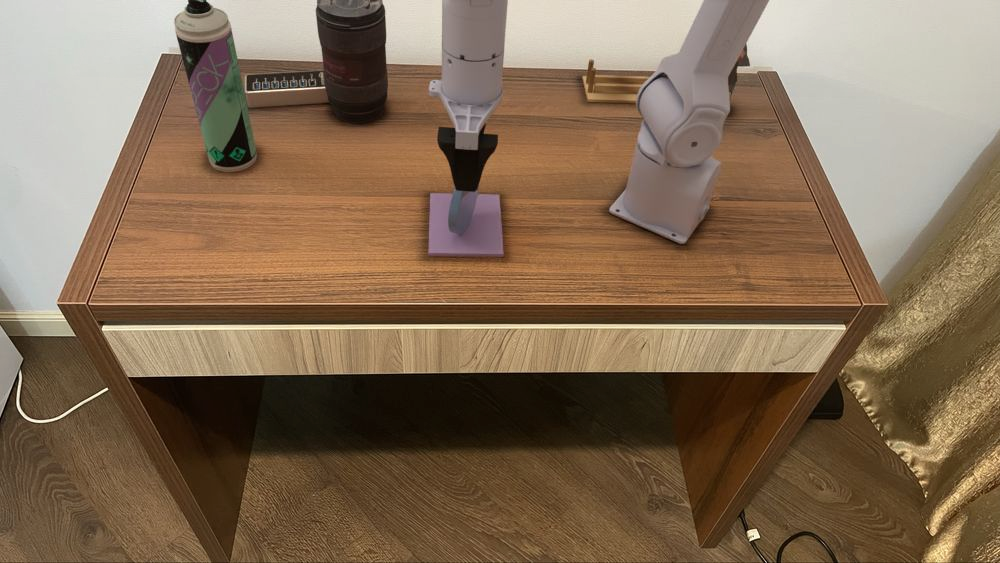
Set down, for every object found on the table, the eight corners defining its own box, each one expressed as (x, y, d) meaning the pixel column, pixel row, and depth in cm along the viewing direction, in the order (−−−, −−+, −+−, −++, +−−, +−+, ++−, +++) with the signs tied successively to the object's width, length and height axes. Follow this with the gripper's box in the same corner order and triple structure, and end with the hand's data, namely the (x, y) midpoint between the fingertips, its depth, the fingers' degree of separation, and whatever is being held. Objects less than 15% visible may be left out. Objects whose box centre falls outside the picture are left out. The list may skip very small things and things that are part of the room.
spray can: (211, 145, 91) (170, -16, 77) (258, 143, 92) (226, -17, 78) (207, 173, 88) (163, 9, 73) (256, 170, 89) (222, 8, 74)
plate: (471, 197, 86) (469, 155, 80) (479, 199, 85) (478, 157, 80) (449, 245, 82) (445, 204, 76) (458, 247, 82) (455, 207, 76)
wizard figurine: (687, 98, 106) (710, 17, 97) (724, 96, 107) (750, 16, 98) (711, 133, 100) (737, 50, 91) (749, 130, 101) (779, 48, 92)
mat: (430, 196, 87) (430, 192, 87) (499, 197, 88) (499, 194, 88) (428, 256, 80) (428, 252, 80) (503, 257, 81) (503, 254, 81)
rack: (657, 81, 108) (664, 56, 106) (666, 104, 104) (672, 78, 101) (582, 78, 108) (586, 53, 105) (587, 102, 103) (591, 76, 100)
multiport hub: (247, 89, 100) (244, 74, 99) (331, 84, 102) (330, 69, 101) (247, 108, 97) (244, 92, 96) (334, 102, 99) (332, 87, 98)
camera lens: (323, 126, 96) (309, 14, 85) (331, 91, 101) (319, -18, 90) (387, 128, 96) (382, 17, 85) (391, 93, 102) (387, -15, 91)
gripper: (436, 5, 74) (435, 123, 83) (421, 85, 64) (422, 208, 73) (508, 10, 74) (499, 127, 84) (504, 91, 64) (495, 213, 73)
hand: (468, 165), depth 78 cm, fingers open, 7 cm apart
